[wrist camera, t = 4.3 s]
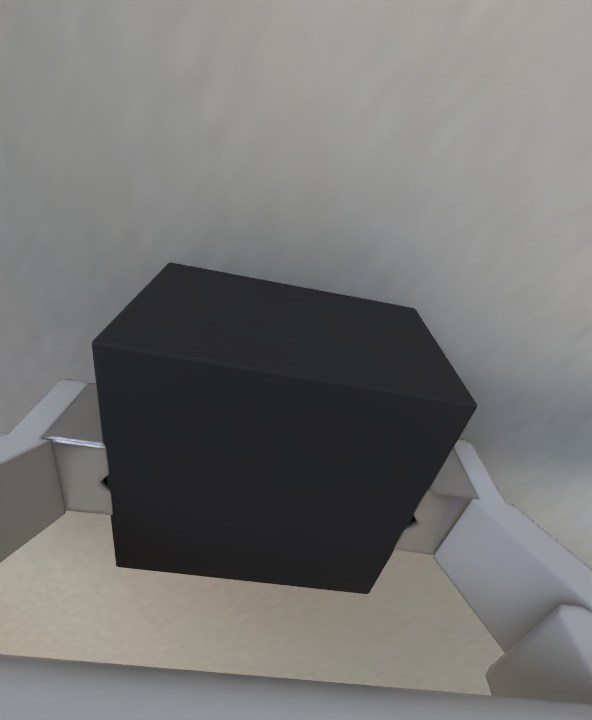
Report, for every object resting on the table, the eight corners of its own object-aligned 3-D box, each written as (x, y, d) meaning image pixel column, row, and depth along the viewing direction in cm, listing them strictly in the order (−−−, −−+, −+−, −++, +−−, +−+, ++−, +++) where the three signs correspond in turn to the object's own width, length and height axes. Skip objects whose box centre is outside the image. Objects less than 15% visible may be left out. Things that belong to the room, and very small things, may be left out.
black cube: (166, 446, 11) (115, 568, 8) (169, 261, 8) (89, 341, 5) (350, 472, 11) (369, 595, 8) (415, 307, 8) (479, 405, 5)
